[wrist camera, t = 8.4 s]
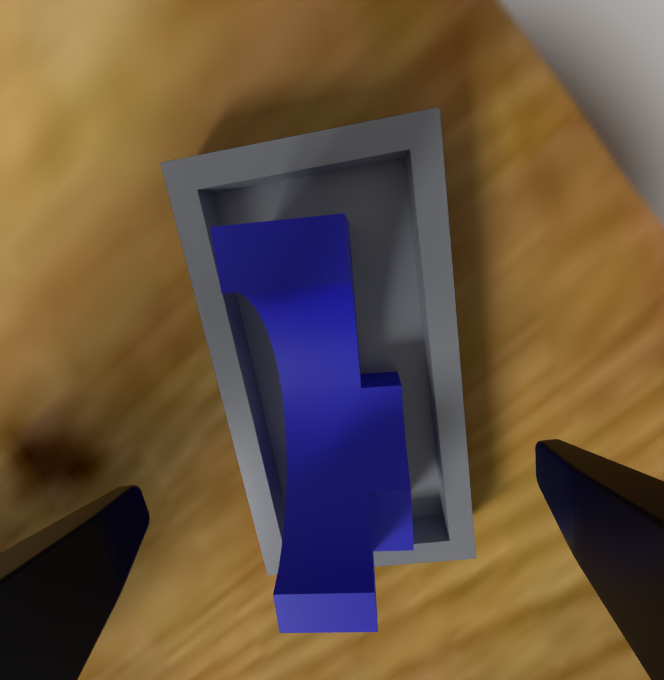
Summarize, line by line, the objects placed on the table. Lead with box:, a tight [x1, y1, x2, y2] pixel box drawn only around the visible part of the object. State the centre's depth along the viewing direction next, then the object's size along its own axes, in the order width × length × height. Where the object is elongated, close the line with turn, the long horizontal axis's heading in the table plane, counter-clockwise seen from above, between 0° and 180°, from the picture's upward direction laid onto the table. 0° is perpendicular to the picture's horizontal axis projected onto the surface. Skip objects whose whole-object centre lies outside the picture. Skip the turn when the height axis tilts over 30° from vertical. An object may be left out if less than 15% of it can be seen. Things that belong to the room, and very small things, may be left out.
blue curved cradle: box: [210, 213, 414, 633], centre depth 13 cm, size 12×4×6 cm, turn 6°
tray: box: [160, 107, 476, 575], centre depth 15 cm, size 17×9×2 cm, turn 10°
